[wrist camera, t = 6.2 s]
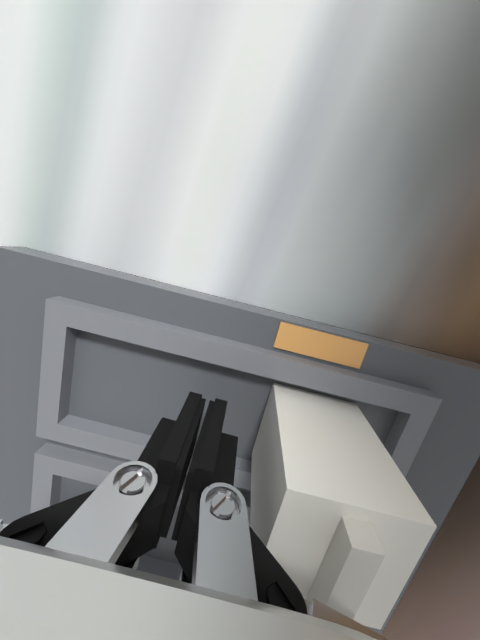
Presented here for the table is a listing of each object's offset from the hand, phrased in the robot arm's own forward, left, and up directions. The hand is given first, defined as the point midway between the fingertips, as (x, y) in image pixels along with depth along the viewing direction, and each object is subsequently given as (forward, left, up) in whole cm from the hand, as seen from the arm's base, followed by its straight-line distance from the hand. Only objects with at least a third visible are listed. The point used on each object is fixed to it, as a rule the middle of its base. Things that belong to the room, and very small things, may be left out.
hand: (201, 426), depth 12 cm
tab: (0, +5, -2) cm, 5 cm away
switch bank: (+4, +1, -3) cm, 5 cm away
